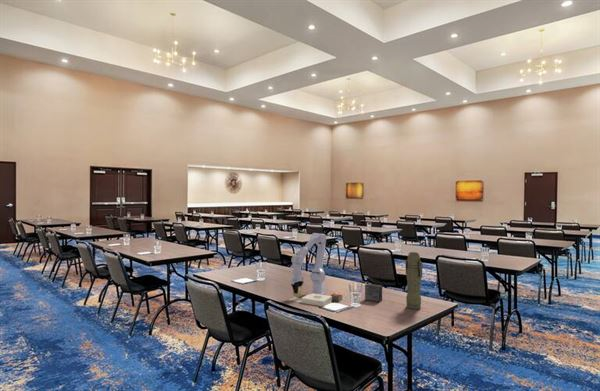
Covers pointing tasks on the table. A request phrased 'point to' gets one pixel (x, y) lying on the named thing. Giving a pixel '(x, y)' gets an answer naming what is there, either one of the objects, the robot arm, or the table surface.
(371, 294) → the small box
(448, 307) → the table surface
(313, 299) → the block
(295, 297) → the billet mat
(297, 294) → the billet
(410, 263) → the thermos
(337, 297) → the button console
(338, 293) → the button cap
